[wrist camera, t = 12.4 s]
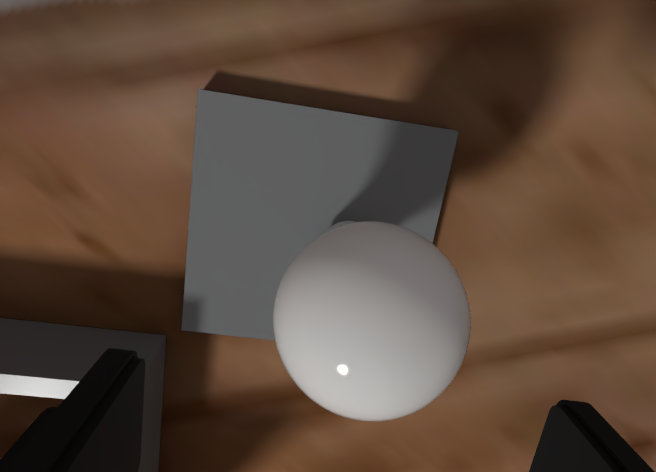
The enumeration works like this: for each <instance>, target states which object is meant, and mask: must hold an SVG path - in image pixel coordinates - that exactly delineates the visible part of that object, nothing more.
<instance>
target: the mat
mask: <svg viewBox="0 0 656 472" xmlns="http://www.w3.org/2000/svg"><path fill="white" fill-rule="evenodd" d="M458 133H459V131H455V130H451V129H445V128H438V127H432V126H426V125H420V124H414V123H407V122H401V121H395V120H389V119H383V118H376V117H370V116H364V115H358V114H352V113H346V112H339V111H333V110H327V109H321V108H315V107H308V106H302V105H296V104H290V103H284V102H277V101H271V100H265V99H259V98H253V97H246V96H240V95H234V94H228V93H222V92H216V91H209V90H203V89H198V97H197V111H196V126H195V141H194V155H193V170H192V184H191V199H190V214H189V228H188V243H187V257H186V272H185V287H184V301H183V316H182V330H183V331H192V332H202V333H211V334H220V335H230V336H239V337H248V338H258V339H267V340H275V337H274V330H273V309H274V302H275V297H276V293H277V290H278V287H279V284H280V281H281V279H282V277H283V275H284V273H285V271H286V269H287V268H288V266H289V264H290V263H291V261H292V260H293V259H294V258H295V256H296V255H297V254H298V253H299V252H300V251H301V250H302V249H303V248H304V247H305V246H306V245H307V244H308V243H309V242H311V241H312V240H313V239H315V238H316V237H318V236H319V235H321V234H323V233H324V232H326V231H327V230H328V229H329V228H330V227H331V226H333V225H334V224H336V223H338V222H342V221H356V222H361V221H379V222H387V223H392V224H396V225H399V226H402V227H405V228H407V229H410V230H412V231H414V232H416V233H418V234H420V235H421V236H423V237H425V238H426V239H427V240H429V241H430V242H431V243H433V239H434V235H435V231H436V226H437V222H438V218H439V214H440V209H441V205H442V201H443V197H444V193H445V188H446V184H447V180H448V176H449V171H450V167H451V163H452V159H453V154H454V150H455V146H456V142H457V138H458Z"/></svg>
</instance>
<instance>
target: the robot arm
mask: <svg viewBox="0 0 656 472" xmlns="http://www.w3.org/2000/svg"><path fill="white" fill-rule="evenodd" d="M144 382H145V359H142V358H138V355H137V352H136V351H133V350H124V349H115V348H108V349H107V350H106V351H105V352H104V353H103V354H102V356H101V357H100V358H99V359H98V360H97V361H96V363H95V364H94V365H93V366H92V367H91V369H90V370H89V371H88V372H87V373H86V375H85V376H84V377H83V378H82V379H81V380H80V382H79V383H78V384H77V385H76V386H75V388H74V389H73V390H72V391H71V392H70V394H69V395H68V396H67V397H66V398H65V399H64V401H63V402H62V403H61V404H60V405H59V407H50V408H47V409H46V410H45V411H43V412H42V413H41V414H40V415H39V416H38V418H37V419H36V420H35V421H34V422H33V423H32V424H31V426H30V427H29V428H28V429H27V430H26V431H25V432H24V433H23V435H22V436H21V437H20V438H19V439H18V440H17V441H16V443H15V444H14V445H13V446H12V447H11V448H10V449H9V451H8V452H7V453H6V454H5V455H4V456H3V457H2V458H1V460H0V472H138V470H139V465H140V458H141V439H142V420H143V401H144ZM529 472H654V471H653V470H652V469H651V468H650V467H649V465H648V464H647V463H646V462H645V461H644V460H643V459H642V458H641V457H640V456H639V455H638V454H637V453H636V452H635V451H634V450H633V449H632V448H631V447H630V445H629V444H628V443H627V442H626V441H625V440H624V439H623V438H622V437H621V436H620V435H619V434H618V433H617V432H616V431H615V430H614V429H613V428H612V427H611V425H610V424H609V423H608V422H607V421H606V420H605V419H604V418H603V417H602V416H601V415H600V414H599V413H598V412H597V411H596V410H595V409H594V408H593V407H592V406H591V405H590V404H589V403H586V402H578V401H569V400H561V401H559V402H558V403H557V405H555V406H552V407H551V409H550V411H549V414H548V417H547V420H546V423H545V426H544V429H543V432H542V435H541V438H540V441H539V444H538V447H537V450H536V453H535V456H534V459H533V462H532V465H531V468H530V471H529Z"/></svg>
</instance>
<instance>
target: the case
mask: <svg viewBox="0 0 656 472" xmlns="http://www.w3.org/2000/svg"><path fill="white" fill-rule="evenodd" d="M108 348H115V349H124V350H133V351H136V352H137V355H138V358H142V359H145V382H144V401H143V420H142V439H141V458H140V465H139V470H138V472H158V470H159V453H160V436H161V418H162V401H163V383H164V366H165V349H166V335H158V334H149V333H139V332H130V331H120V330H111V329H102V328H92V327H83V326H73V325H64V324H54V323H45V322H36V321H26V320H17V319H7V318H0V393H3V394H14V395H25V396H36V397H48V398H59V399H65V398H66V397H67V396H68V395H69V394H70V392H71V391H72V390H73V389H74V388H75V386H76V385H77V384H78V383H79V382H80V380H81V379H82V378H83V377H84V376H85V375H86V373H87V372H88V371H89V370H90V369H91V367H92V366H93V365H94V364H95V363H96V361H97V360H98V359H99V358H100V357H101V356H102V354H103V353H104V352H105V351H106V350H107V349H108Z"/></svg>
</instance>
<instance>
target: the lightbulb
mask: <svg viewBox="0 0 656 472" xmlns="http://www.w3.org/2000/svg"><path fill="white" fill-rule="evenodd" d="M273 330H274V337H275V342H276V346H277V349H278V352H279V355H280V358H281V360H282V362H283V364H284V366H285V368H286V370H287V372H288V373H289V375H290V376H291V378H292V379H293V381H294V382H295V383H296V385H297V386H298V387H299V388H300V389H301V390H302V391H303V392H304V393H305V394H306V395H307V396H308V397H309V398H310V399H312V400H313V401H314V402H316V403H317V404H318V405H320V406H322V407H323V408H325V409H327V410H329V411H331V412H333V413H335V414H337V415H340V416H343V417H346V418H350V419H355V420H361V421H386V420H393V419H397V418H401V417H404V416H407V415H409V414H412V413H414V412H416V411H418V410H420V409H422V408H424V407H425V406H427V405H428V404H430V403H431V402H432V401H434V400H435V399H436V398H437V397H438V396H439V395H440V394H442V392H443V391H444V390H445V389H446V388H447V387H448V386H449V385H450V383H451V382H452V381H453V379H454V378H455V376H456V374H457V373H458V371H459V369H460V367H461V365H462V363H463V360H464V358H465V355H466V352H467V348H468V344H469V339H470V330H471V316H470V308H469V302H468V298H467V294H466V291H465V288H464V286H463V283H462V281H461V279H460V277H459V275H458V273H457V271H456V270H455V268H454V266H453V265H452V263H451V262H450V261H449V260H448V258H447V257H446V256H445V255H444V254H443V253H442V252H441V251H440V250H439V249H438V248H437V247H436V246H435V245H434V244H433V243H431V242H430V241H429V240H427V239H426V238H425V237H423V236H421V235H420V234H418V233H416V232H414V231H412V230H410V229H407V228H405V227H402V226H399V225H396V224H392V223H387V222H379V221H361V222H356V221H342V222H338V223H336V224H334V225H333V226H331V227H330V228H329V229H328V230H327V231H326V232H324V233H323V234H321V235H319V236H318V237H316V238H315V239H313V240H312V241H311V242H309V243H308V244H307V245H306V246H305V247H304V248H303V249H302V250H301V251H300V252H299V253H298V254H297V255H296V256H295V258H294V259H293V260H292V261H291V263H290V264H289V266H288V268H287V269H286V271H285V273H284V275H283V277H282V279H281V281H280V284H279V287H278V290H277V293H276V297H275V302H274V309H273Z"/></svg>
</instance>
